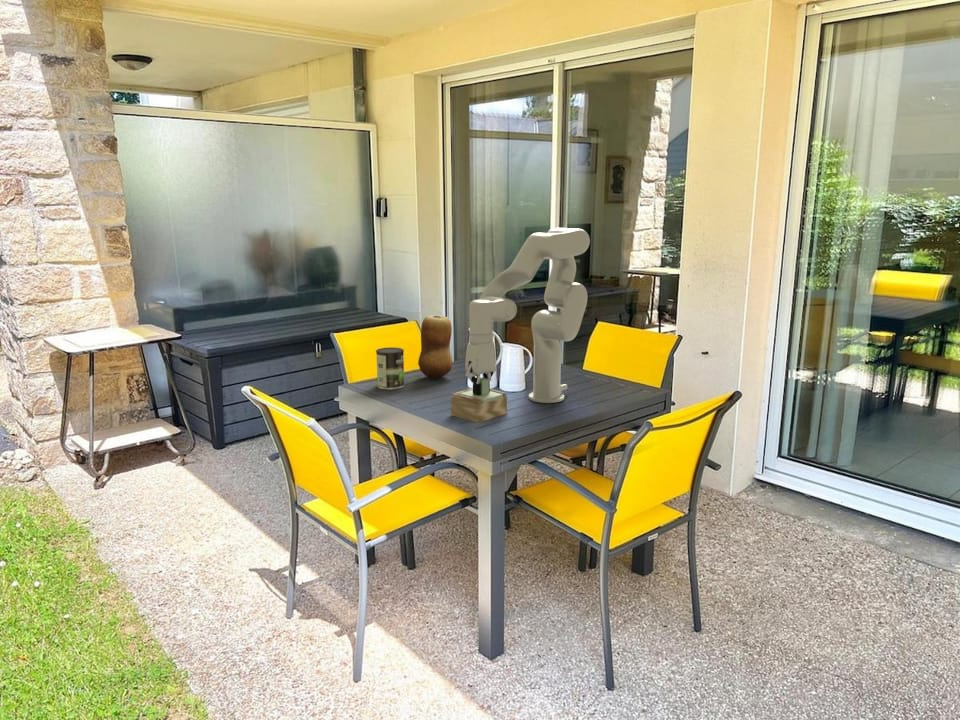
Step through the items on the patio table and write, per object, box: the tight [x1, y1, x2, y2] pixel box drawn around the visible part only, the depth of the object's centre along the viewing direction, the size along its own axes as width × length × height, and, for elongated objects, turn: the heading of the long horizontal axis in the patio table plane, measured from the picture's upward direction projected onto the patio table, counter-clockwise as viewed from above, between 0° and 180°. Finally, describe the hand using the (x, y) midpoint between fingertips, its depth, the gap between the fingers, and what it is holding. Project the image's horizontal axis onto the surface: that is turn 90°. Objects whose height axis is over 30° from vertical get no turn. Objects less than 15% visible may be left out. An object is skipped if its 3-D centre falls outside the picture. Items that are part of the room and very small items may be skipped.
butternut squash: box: [417, 314, 453, 380], centre depth 277 cm, size 14×13×25 cm
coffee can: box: [375, 346, 405, 391], centre depth 266 cm, size 10×10×14 cm
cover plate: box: [460, 376, 503, 403], centre depth 230 cm, size 9×11×6 cm
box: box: [450, 387, 508, 424], centre depth 232 cm, size 14×12×7 cm
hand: (481, 393), depth 230 cm, fingers open, 3 cm apart
